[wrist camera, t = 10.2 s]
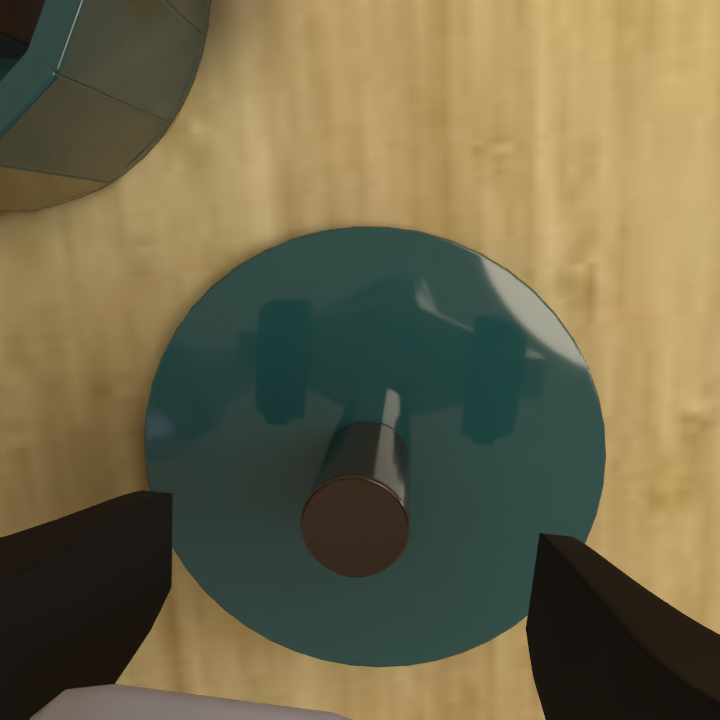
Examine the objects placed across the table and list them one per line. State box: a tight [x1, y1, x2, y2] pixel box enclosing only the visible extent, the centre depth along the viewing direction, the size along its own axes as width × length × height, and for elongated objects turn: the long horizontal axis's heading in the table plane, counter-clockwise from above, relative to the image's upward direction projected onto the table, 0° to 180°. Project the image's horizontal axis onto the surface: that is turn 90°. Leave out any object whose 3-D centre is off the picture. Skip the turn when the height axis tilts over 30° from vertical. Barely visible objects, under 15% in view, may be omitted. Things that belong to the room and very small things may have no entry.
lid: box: [144, 227, 606, 667], centre depth 16 cm, size 13×13×5 cm
